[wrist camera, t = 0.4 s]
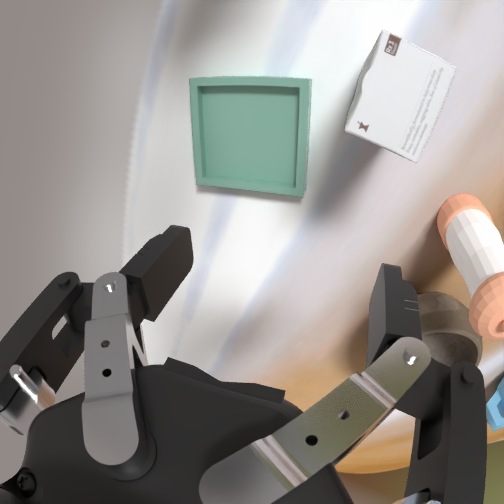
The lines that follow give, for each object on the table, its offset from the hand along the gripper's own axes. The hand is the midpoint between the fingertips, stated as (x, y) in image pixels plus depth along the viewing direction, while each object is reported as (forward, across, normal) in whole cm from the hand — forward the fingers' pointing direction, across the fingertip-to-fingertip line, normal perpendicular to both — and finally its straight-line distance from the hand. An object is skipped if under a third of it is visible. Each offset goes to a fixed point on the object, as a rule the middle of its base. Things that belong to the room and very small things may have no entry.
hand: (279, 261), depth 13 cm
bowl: (+26, -19, +26) cm, 41 cm away
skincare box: (+26, -6, -6) cm, 28 cm away
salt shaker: (+26, -19, +8) cm, 33 cm away
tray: (+26, +9, +2) cm, 28 cm away
